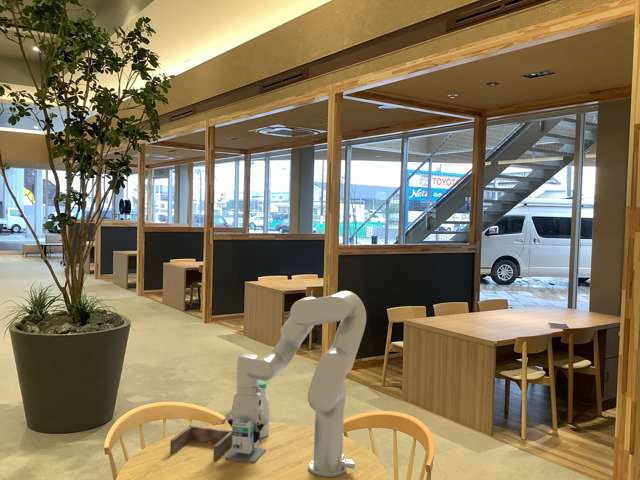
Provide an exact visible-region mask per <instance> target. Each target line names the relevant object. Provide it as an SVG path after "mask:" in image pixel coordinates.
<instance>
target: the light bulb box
mask: <svg viewBox="0 0 640 480" xmlns="http://www.w3.org/2000/svg"><path fill="white" fill-rule="evenodd" d="M254 431H255V429H254V424H253V421H250V420H244V419H235V420H234V421H233V432H232V447H231V450H232V452H237V453H245V454H250V453H251V452H252V451H253V449H254V448H257V446H258V445H259V441H260V439H259V440H258V441H257V442H256V443H254Z"/></svg>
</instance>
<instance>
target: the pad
mask: <svg viewBox="0 0 640 480" xmlns="http://www.w3.org/2000/svg"><path fill="white" fill-rule="evenodd" d="M265 452H266V448H263V447H262V448H261V447H255V448H254V449H253V451H252V452H251V453H250V454H245V453H237V452H232V449H231V450H230V451H229V452H228V453H227V454H226V455H224V459H225V460H231V461H237V462H242V463H243V462H245V463H250V464H251V463H252V464H256V463H257V462H258V460H259V459H260V458H261V457H262V456H263V454H264V453H265Z"/></svg>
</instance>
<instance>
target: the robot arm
mask: <svg viewBox="0 0 640 480" xmlns="http://www.w3.org/2000/svg"><path fill="white" fill-rule="evenodd" d="M337 322H339V325H338V327H337V330H336V333H335V335H334V338H333V340H332V344H331V346H330V348H329V349H328V350H327V351H326V352H325V353H323V354H322V355H321V357H320V358H319V360H318V362H317V365H316V368H315V369H314V373H313V377H312V379H311V383H310V386H309V387H308V392H307V401H308V404H309V406H310V408H311V409H312V410H313V411H315V413H314V415H315V416H314V439H313V440H314V441H313V460H311V461H310V462H309V464H308V470H309V472H311V473H312V474H314V475H316V476H319V477H326V478H335V477H339V476H341V475H344V474H345V473H346V471H347V469H352V470H353V469H355V467H356V465H355V464H356V463H355V462H354V461H353V460H352V459H347V458H346V457H345V453H343V446H344V445H343V441H344V421H345V420H344V419H345V407H346V406H345V404H346V398H347V386H346V383H345V381H344V380H345V376H347V374H348V373H350V372H351V370H352V369H353V367H354V364H355V360H356V357H357V354H358V350H359V348H360V344H361V341H362V338H363V336H364V332H365V328H366V323H367V312H366V308H365V305H364V303H363V301H362V300H361V298H360V297H359V296H358V295H357V294H356V293H354V292H352V291H349V290H340V291H339V292H335V293H334V294H331V295H327V296H321V297H315V296H306V297H302V298H301V299H299V300H296V301H295V302H293V304H292V306H291V307H290V312H289V317H288V319H287V320H286V321H285V323H284V324H283V325H282V326H281V328H280V338H279V340H278V341H277V343H276V345H275V347H273V349H272V350H271V352H270V353H269V354H267V355H265V356H264V357H260V358H259V356H258V355H257V354H254V353H250V352H249V353H247V352H246V353H242V354H241V353H240V354H239V355H238V357H237V359H236V361H237V362H236V366H237V367H236V391H235V393H234V395H233V400H232V403H231V404H232V407H231V410H230V411H228V412H227V413H226V414H225V415H224V418H225V420H226V421H227V423H228V424H229V426H230V428H231V431H232V432H233V421H234V420H235V419H244V420H250V421H253V424H254V429H255V431H254V443H256V442H257V441H258V440H259V441H260V439H261V438H260V429H262V428H263V427H264V426H265V425H266V424H267V423H268V421H269V422H270V419H269V420H268V419H267V418H266V417H265V416H264V415H263V414H262V401H261V394H260V393H258V392H262V388H259V385H258V382H259V381H262V382H266V381H271V380H272V379H273V378H275V377H276V376H278V375H279V374H280V373H282V372H283V371H284V370H285V369H286V368H287V366H288V365H289V363H291V361H292V359H293V358H294V357H295V355H296V354H297V352H298V350H299V348H301V345H302V343H303V342H304V341H305V339H306V338H307V336H308V334H309V333H310V332H311V330H313V328H314V326H317V325H324V324H330V323H337ZM261 419H262V421H263V423H262V424H261V425H260V423H259V420H261Z"/></svg>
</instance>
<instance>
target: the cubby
mask: <svg viewBox="0 0 640 480" xmlns="http://www.w3.org/2000/svg"><path fill="white" fill-rule="evenodd" d="M191 441H193V442H199V443H200V442H201V443H207V442H211V443H210V444H214V443H216V444H215V445H213V459H212V460H213V462H218V460H219V459H221V457H222V456H223V455H225V454H226V453H227V452H228V451H229V450H230V449H232V430H227V429H222V428H221V429H219V428H212V427H211V428H210V427H203V426H197V425H189V426H187V427H186V428H185V429H183V430H182V431H181V432H180V433H178V434H177V435H176V436H174V437H173V438H172V439H170V448H169V449H170V451H169V452H170V453H169V454H170V455H175V454H176V453H177V452H179V451H180V450H181V449H182V448H184V447H185V446H186V445H187V444H189V443H190V442H191ZM178 450H179V451H178ZM225 452H226V453H225ZM224 453H225V454H224Z"/></svg>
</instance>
